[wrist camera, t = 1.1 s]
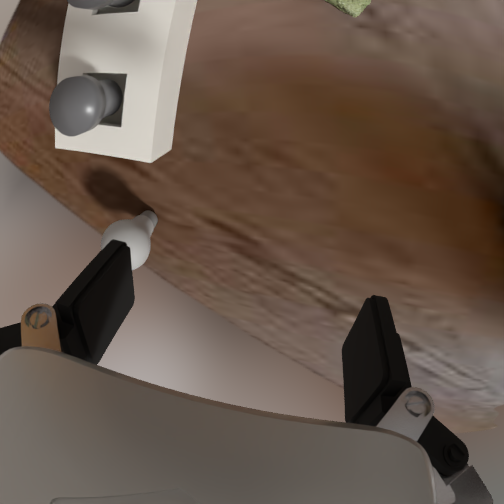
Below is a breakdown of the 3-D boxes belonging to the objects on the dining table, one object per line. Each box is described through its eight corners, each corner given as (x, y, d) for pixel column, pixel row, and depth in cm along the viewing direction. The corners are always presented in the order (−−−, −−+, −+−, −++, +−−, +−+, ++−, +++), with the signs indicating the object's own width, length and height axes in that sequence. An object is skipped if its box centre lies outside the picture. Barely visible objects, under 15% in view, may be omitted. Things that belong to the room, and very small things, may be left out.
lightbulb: (164, 192, 40) (125, 231, 31) (177, 233, 43) (145, 280, 34) (127, 199, 41) (83, 238, 32) (140, 237, 44) (104, 282, 35)
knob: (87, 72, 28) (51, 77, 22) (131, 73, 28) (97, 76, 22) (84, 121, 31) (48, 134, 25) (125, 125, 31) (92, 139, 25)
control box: (108, -40, 23) (82, -49, 18) (209, -47, 23) (193, -65, 18) (82, 136, 37) (55, 147, 32) (171, 149, 37) (150, 162, 32)
